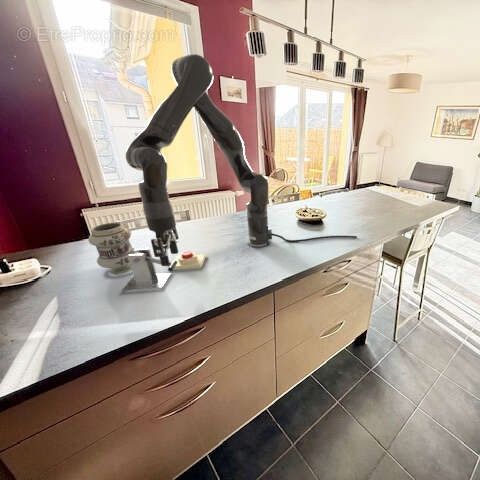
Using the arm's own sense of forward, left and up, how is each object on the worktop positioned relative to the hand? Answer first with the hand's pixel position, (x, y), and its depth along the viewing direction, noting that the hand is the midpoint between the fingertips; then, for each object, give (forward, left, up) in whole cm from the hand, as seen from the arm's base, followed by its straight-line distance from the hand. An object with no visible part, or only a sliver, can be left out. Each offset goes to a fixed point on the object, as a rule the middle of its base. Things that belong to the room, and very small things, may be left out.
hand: (170, 259), depth 83 cm
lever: (+5, 0, -1) cm, 5 cm away
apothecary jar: (+22, -11, -10) cm, 26 cm away
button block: (-1, -12, -9) cm, 15 cm away
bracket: (+9, 0, -9) cm, 13 cm away
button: (-1, -12, -6) cm, 13 cm away
